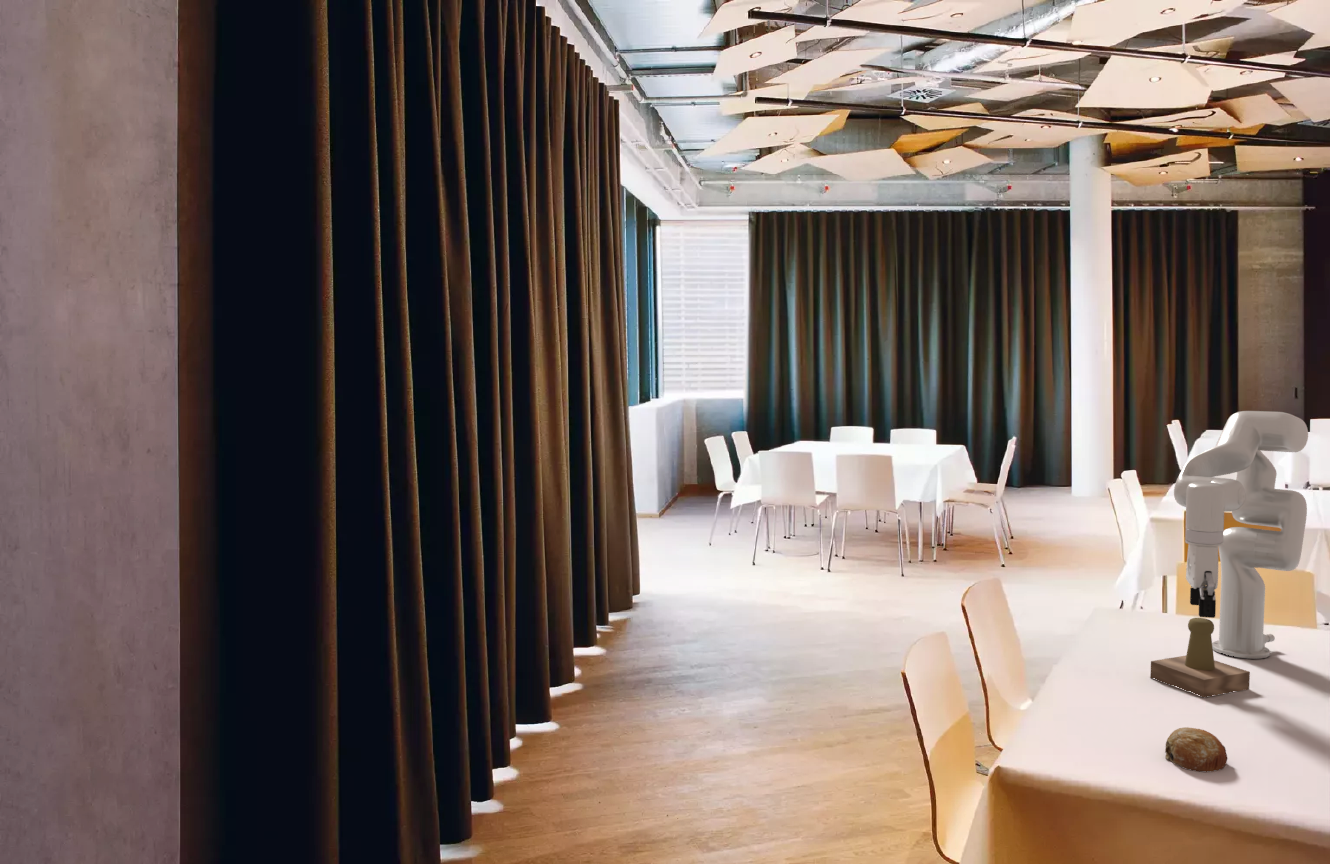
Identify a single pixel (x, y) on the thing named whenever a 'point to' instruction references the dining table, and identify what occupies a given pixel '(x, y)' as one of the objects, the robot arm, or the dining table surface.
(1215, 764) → the bread roll
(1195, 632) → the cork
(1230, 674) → the walnut plinth
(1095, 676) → the dining table surface
